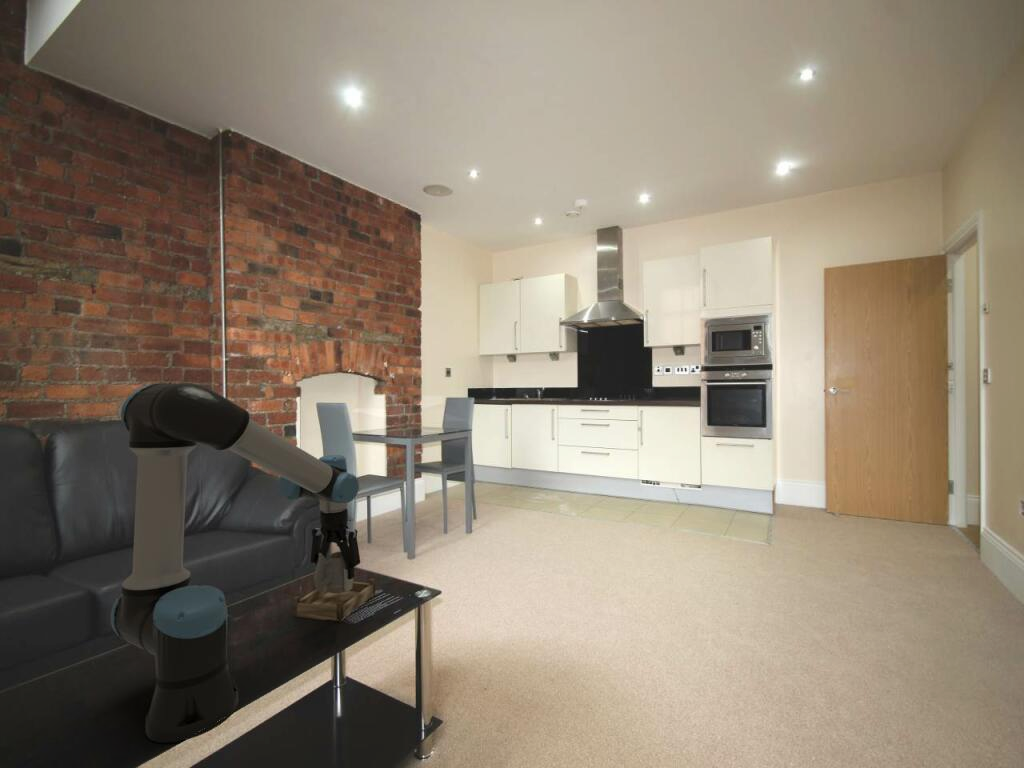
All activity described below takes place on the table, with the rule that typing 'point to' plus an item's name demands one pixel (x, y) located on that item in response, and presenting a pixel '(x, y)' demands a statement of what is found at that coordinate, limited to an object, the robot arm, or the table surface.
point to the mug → (331, 573)
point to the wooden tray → (333, 602)
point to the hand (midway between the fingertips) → (336, 588)
